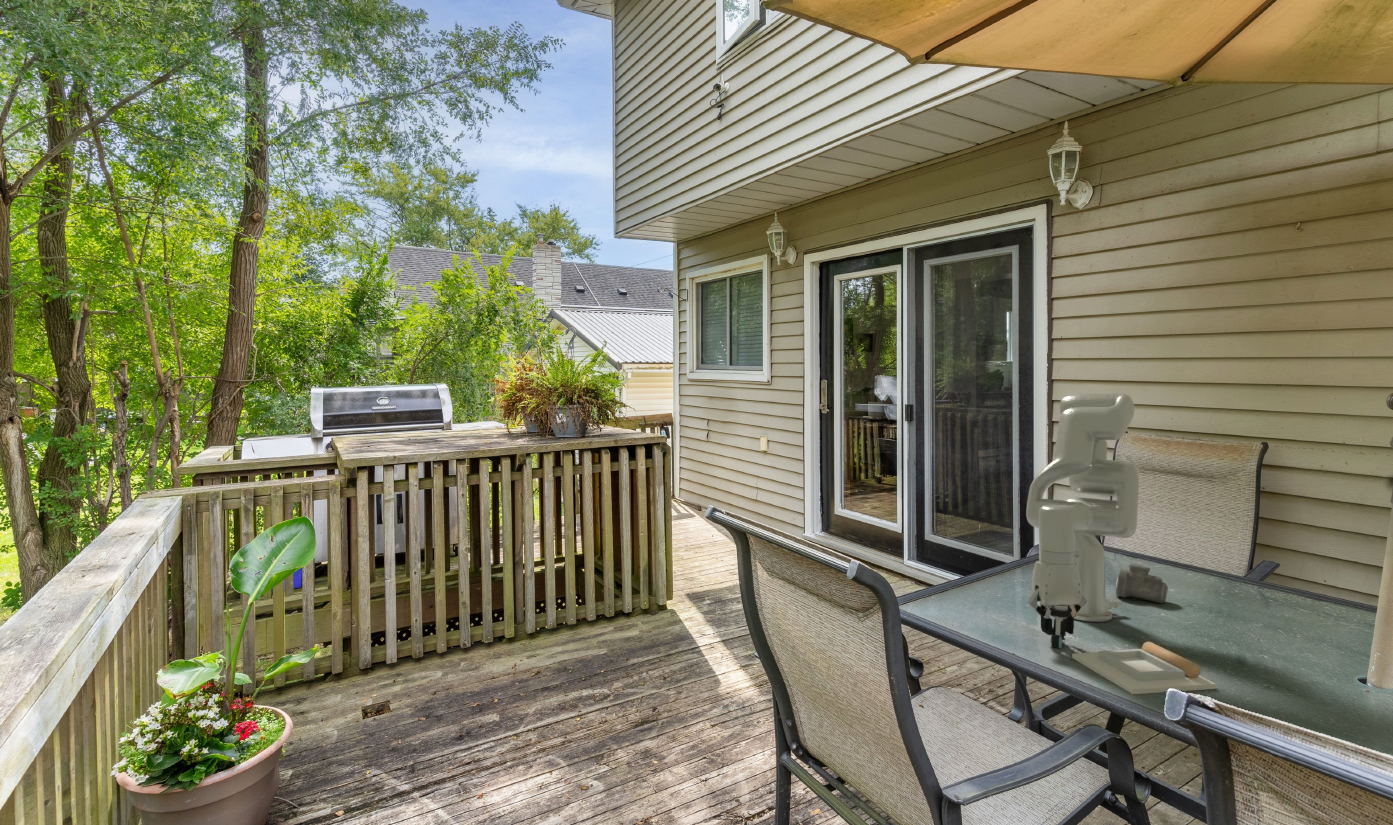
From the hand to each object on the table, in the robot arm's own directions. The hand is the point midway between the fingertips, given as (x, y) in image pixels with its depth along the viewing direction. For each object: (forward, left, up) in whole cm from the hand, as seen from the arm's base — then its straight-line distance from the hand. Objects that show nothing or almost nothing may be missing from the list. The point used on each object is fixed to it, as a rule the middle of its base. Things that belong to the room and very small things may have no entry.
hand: (1057, 631), depth 154 cm
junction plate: (-7, +17, -3) cm, 19 cm away
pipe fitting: (-44, -27, -3) cm, 52 cm away
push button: (0, 0, -3) cm, 3 cm away
